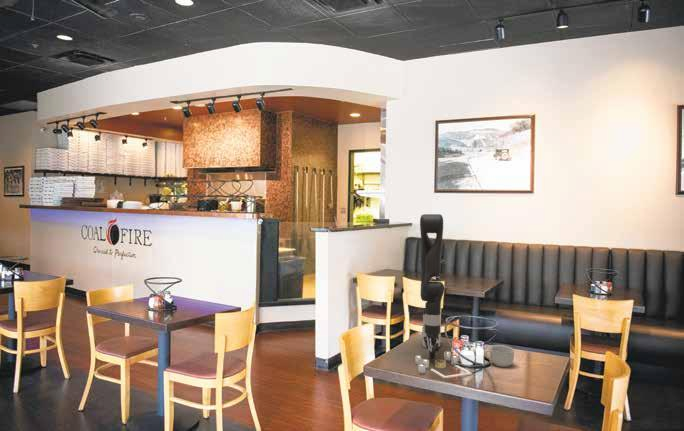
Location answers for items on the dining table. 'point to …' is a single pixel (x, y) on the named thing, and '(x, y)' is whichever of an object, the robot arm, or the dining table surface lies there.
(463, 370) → the frame
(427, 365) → the spacer field
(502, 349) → the teacup
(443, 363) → the nut
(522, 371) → the dining table surface
